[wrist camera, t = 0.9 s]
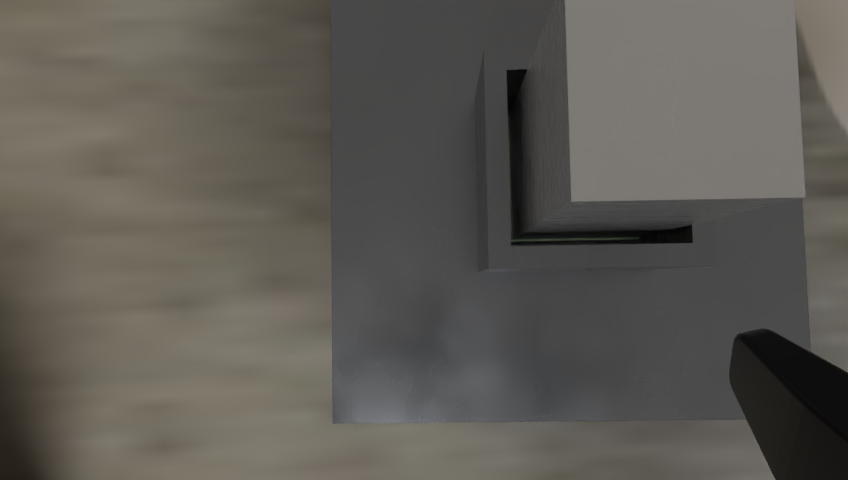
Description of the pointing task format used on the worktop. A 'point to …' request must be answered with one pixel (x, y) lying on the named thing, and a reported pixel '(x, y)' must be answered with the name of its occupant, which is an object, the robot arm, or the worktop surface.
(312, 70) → the worktop surface
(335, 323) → the stand
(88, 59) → the worktop surface
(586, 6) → the column
